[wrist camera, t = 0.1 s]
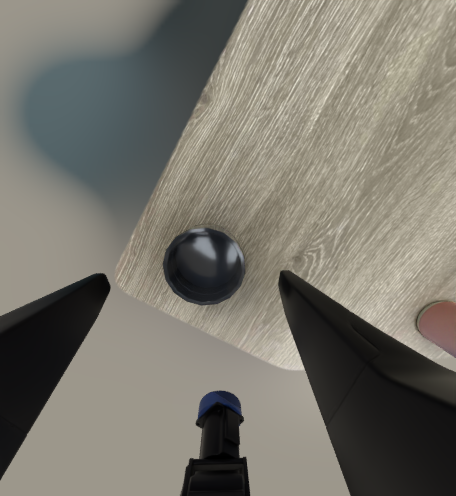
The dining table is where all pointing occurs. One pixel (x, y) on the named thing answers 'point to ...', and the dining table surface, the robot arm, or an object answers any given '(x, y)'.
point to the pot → (204, 264)
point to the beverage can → (439, 325)
